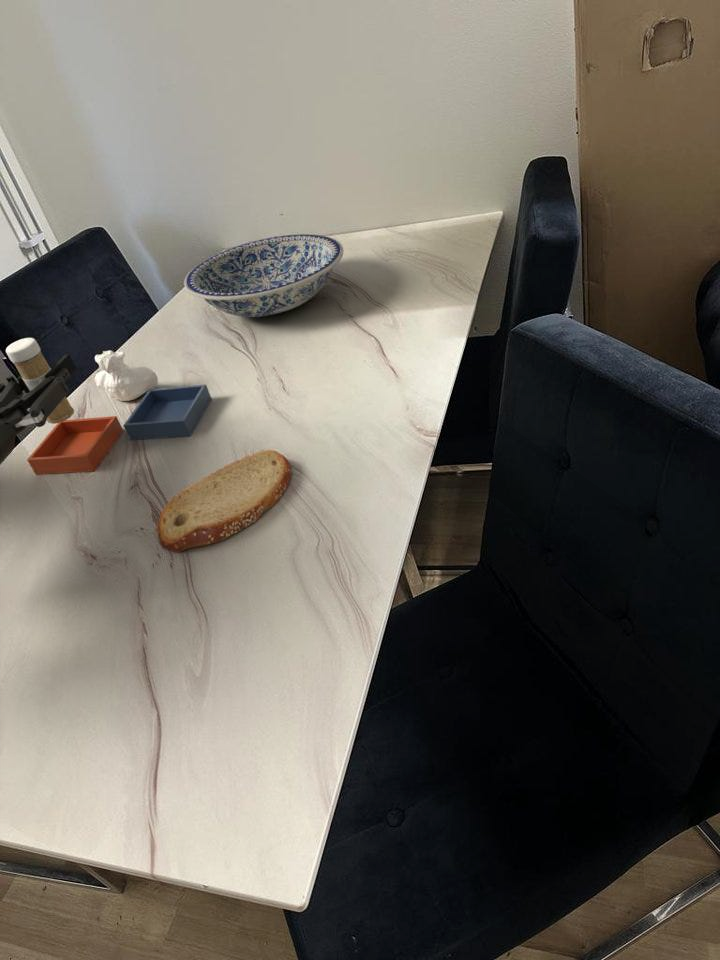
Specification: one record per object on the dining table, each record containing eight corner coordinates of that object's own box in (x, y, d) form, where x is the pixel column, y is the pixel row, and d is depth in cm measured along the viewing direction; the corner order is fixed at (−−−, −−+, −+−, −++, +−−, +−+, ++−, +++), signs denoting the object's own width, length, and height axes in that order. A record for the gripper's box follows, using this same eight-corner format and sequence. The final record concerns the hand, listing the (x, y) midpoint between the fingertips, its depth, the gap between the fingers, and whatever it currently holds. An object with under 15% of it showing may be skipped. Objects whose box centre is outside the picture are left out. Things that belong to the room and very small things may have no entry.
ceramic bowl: (383, 283, 144) (375, 237, 138) (266, 357, 127) (251, 309, 121) (282, 263, 165) (271, 223, 159) (170, 324, 149) (153, 282, 142)
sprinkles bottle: (65, 407, 111) (24, 334, 103) (80, 412, 109) (40, 338, 100) (42, 421, 109) (-2, 349, 100) (57, 427, 106) (14, 353, 98)
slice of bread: (294, 455, 100) (288, 435, 98) (284, 538, 86) (276, 517, 84) (181, 473, 102) (172, 454, 100) (153, 557, 88) (142, 537, 86)
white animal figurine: (108, 409, 128) (71, 389, 117) (110, 372, 130) (74, 349, 119) (165, 403, 125) (132, 382, 115) (166, 365, 127) (134, 341, 116)
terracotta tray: (35, 474, 110) (26, 459, 108) (68, 434, 119) (60, 420, 117) (95, 471, 108) (86, 456, 106) (123, 430, 116) (116, 415, 114)
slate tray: (130, 440, 113) (123, 425, 111) (155, 403, 121) (149, 389, 119) (190, 436, 110) (184, 421, 108) (211, 399, 119) (206, 384, 117)
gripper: (-63, 474, 95) (23, 387, 113) (41, 467, 91) (114, 378, 109) (-95, 432, 91) (0, 348, 108) (13, 423, 86) (94, 337, 104)
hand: (57, 363), depth 108 cm, fingers closed on sprinkles bottle, 4 cm apart
